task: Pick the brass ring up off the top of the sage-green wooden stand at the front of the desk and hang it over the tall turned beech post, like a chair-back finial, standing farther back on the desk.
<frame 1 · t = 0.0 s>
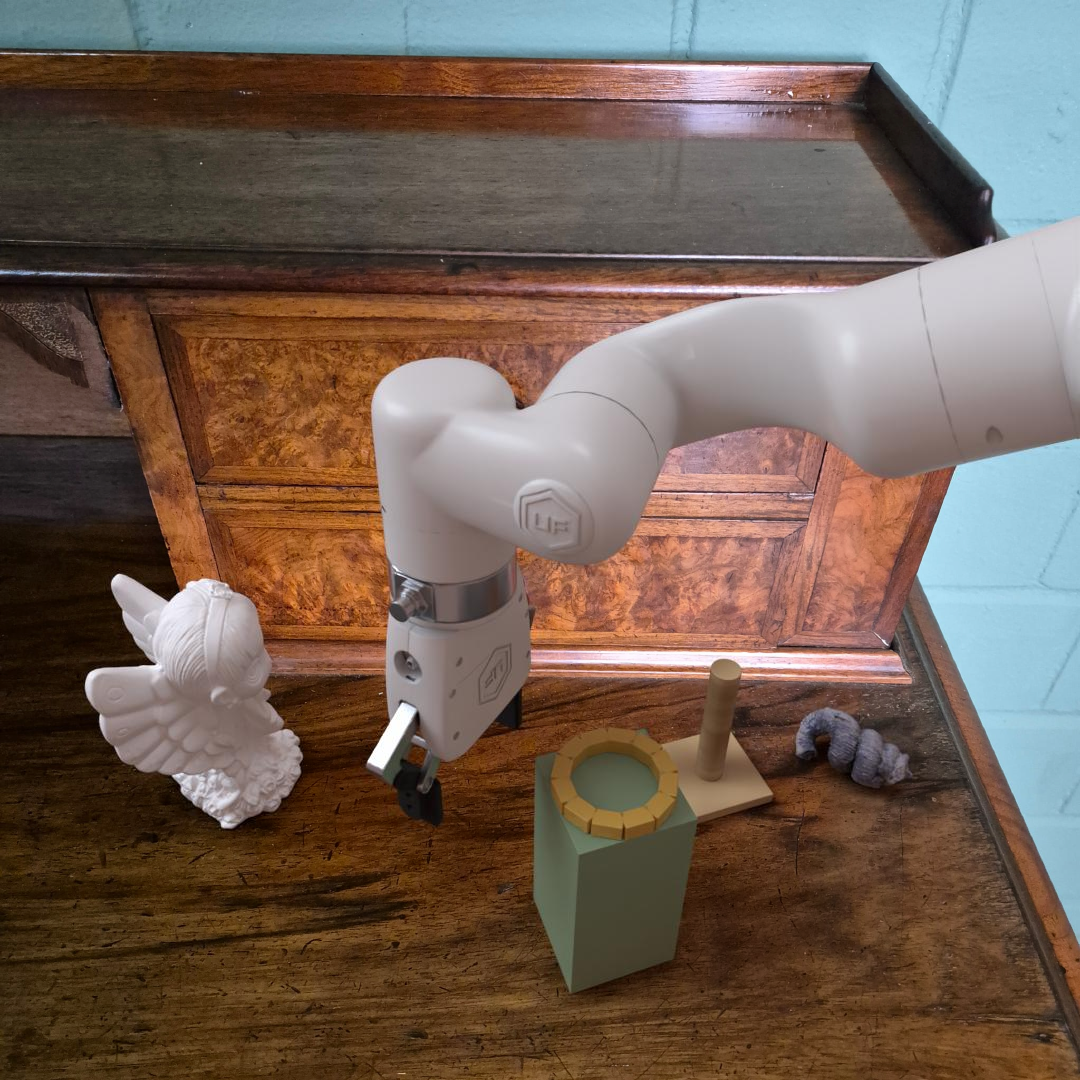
hand: (463, 764, 65), 14 cm above the table, tool pointing down, fingers open, 9 cm apart
ring: (613, 787, 61), point 16 cm above the table, touching stand
seashell: (848, 768, 83), on the table
post: (707, 778, 82), on the table
stand: (601, 927, 70), on the table
cherub figurine: (228, 782, 81), on the table
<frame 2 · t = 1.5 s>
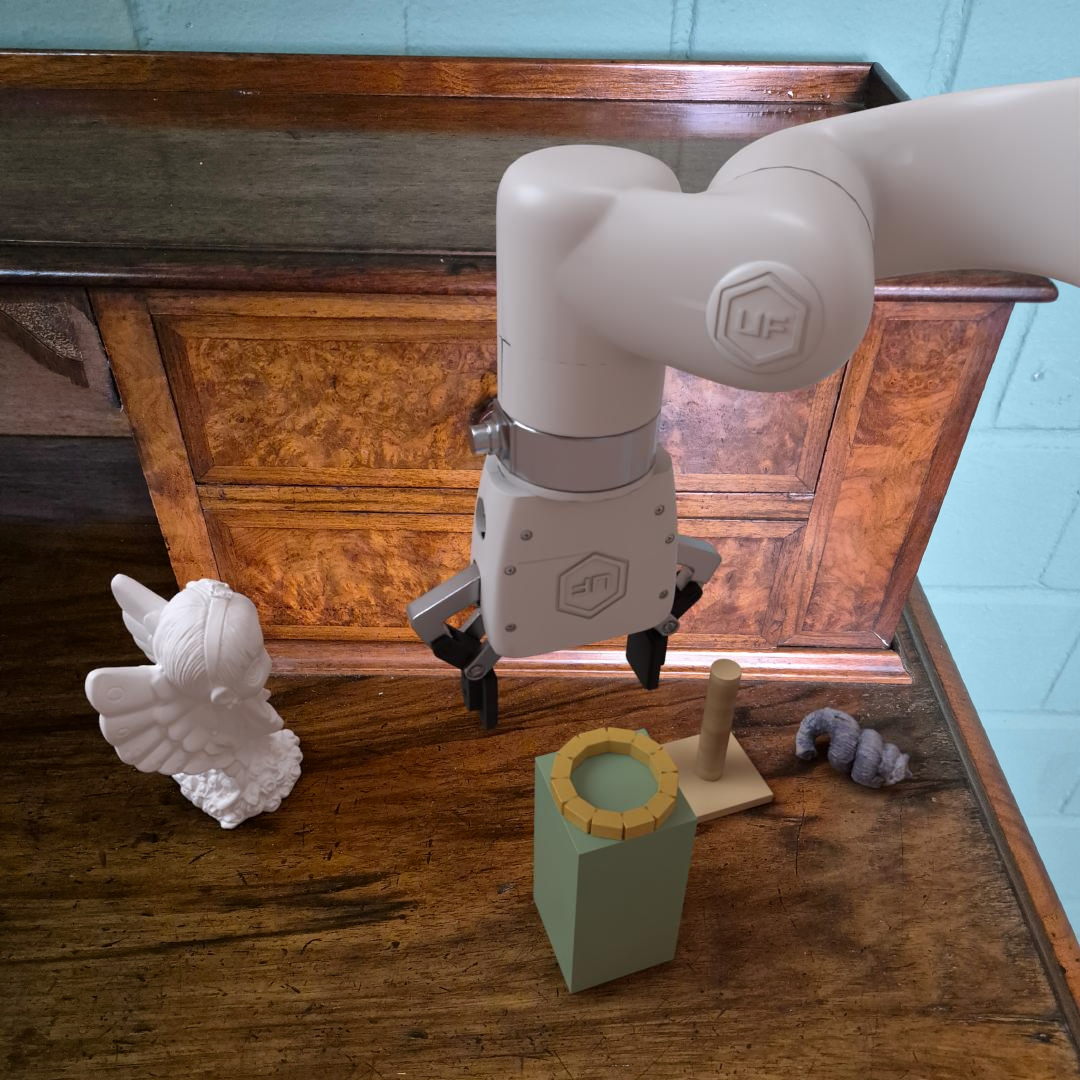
hand: (564, 692, 54), 26 cm above the table, tool pointing down, fingers open, 9 cm apart
nothing on the table moved.
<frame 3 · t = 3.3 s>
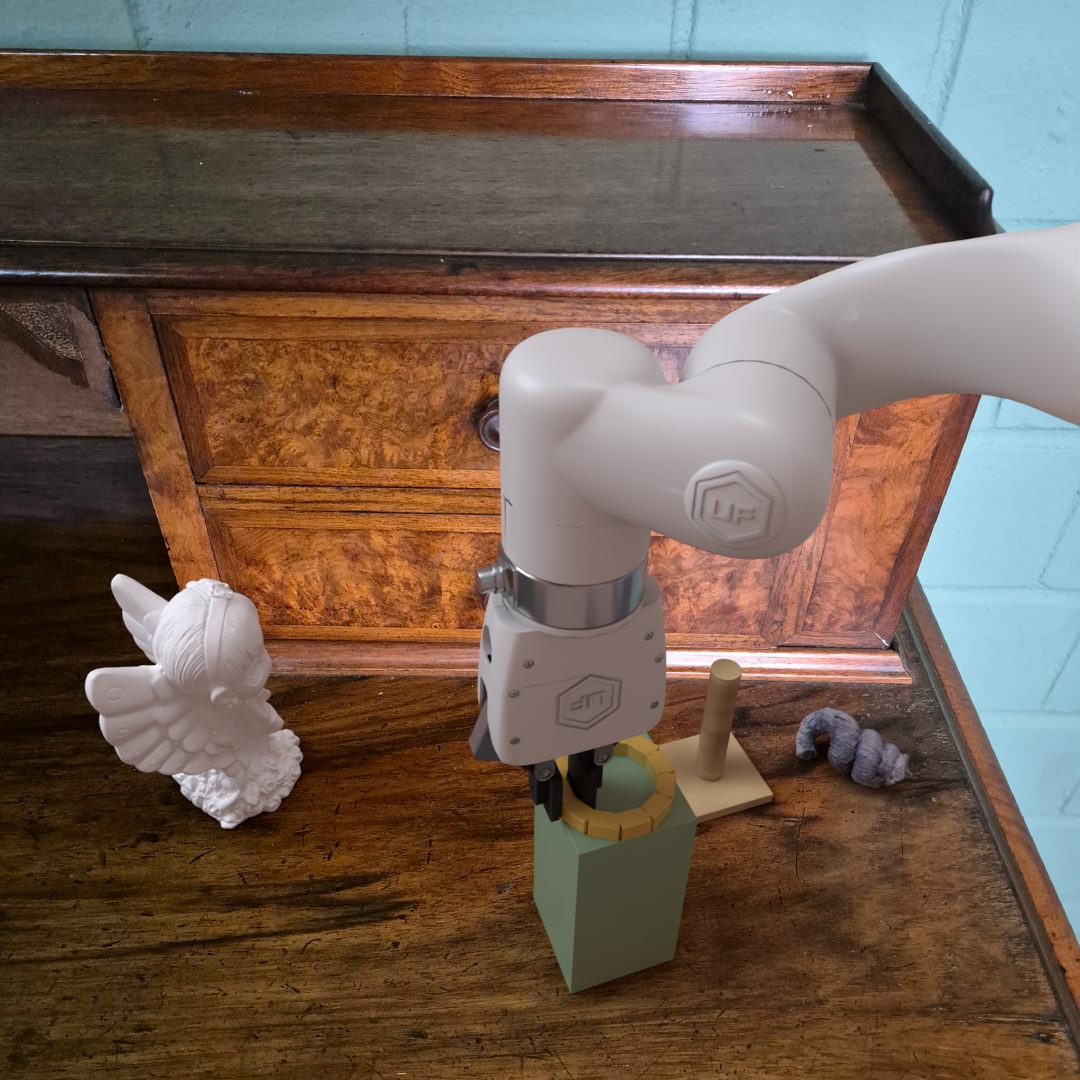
hand: (564, 797, 60), 16 cm above the table, tool pointing down, fingers closed on ring, 1 cm apart
ring: (610, 787, 61), point 16 cm above the table, touching gripper, stand
everything else where it was.
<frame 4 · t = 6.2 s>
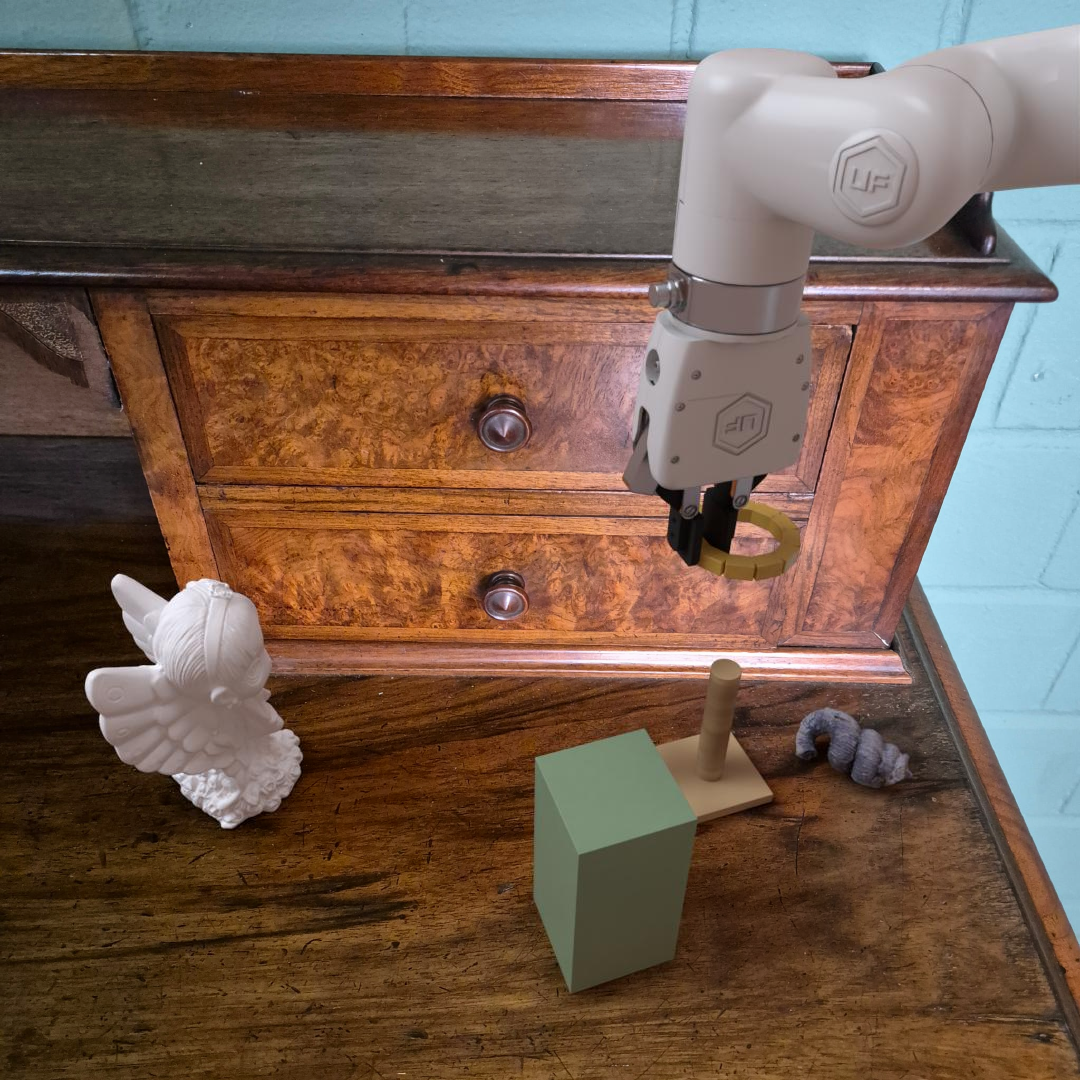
hand: (698, 549, 65), 26 cm above the table, tool pointing down, fingers closed on ring, 1 cm apart
ring: (738, 544, 66), point 26 cm above the table, touching gripper
everything else where it was.
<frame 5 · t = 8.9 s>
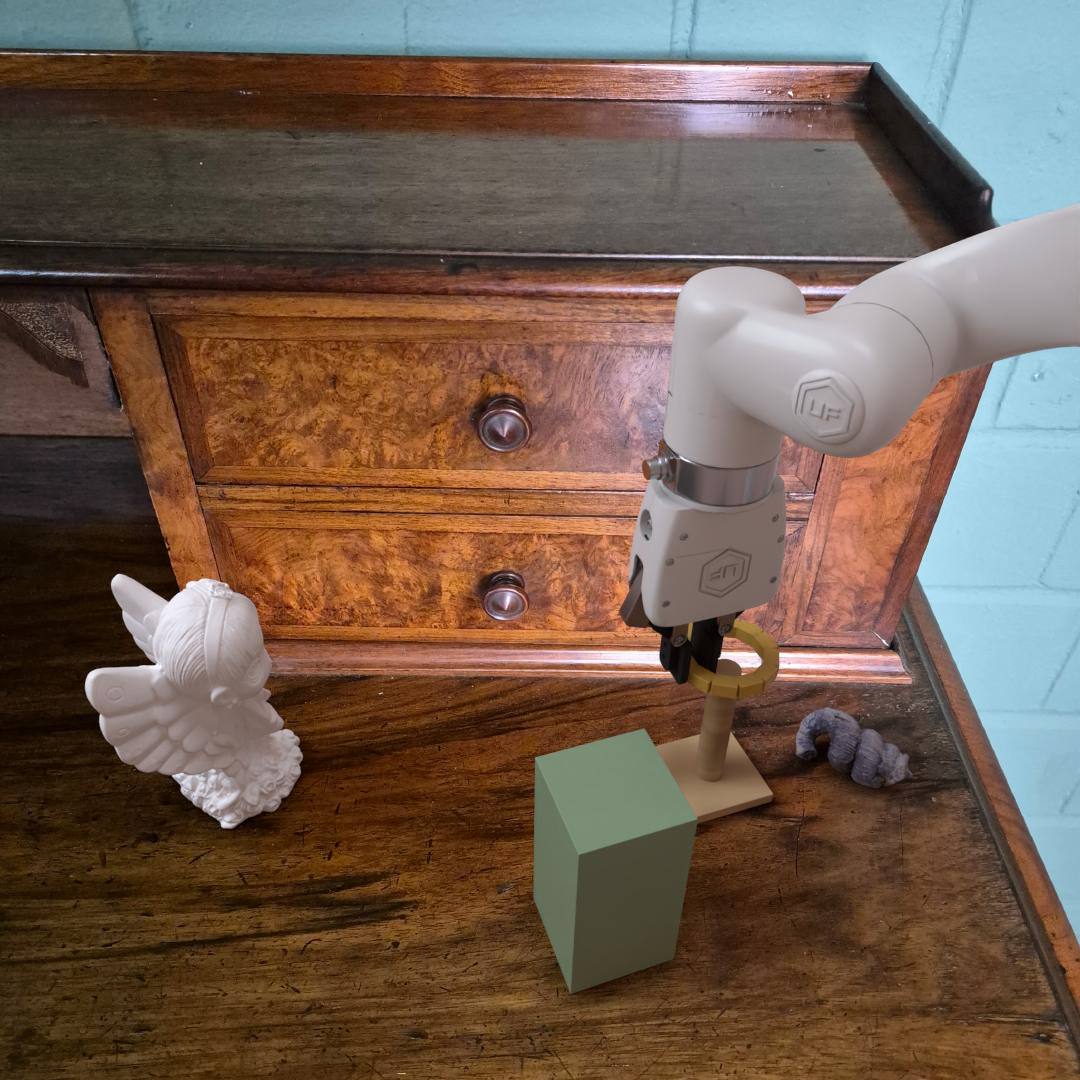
hand: (688, 667, 73), 14 cm above the table, tool pointing down, fingers closed on ring, 1 cm apart
ring: (724, 661, 74), point 14 cm above the table, touching gripper
everything else where it was.
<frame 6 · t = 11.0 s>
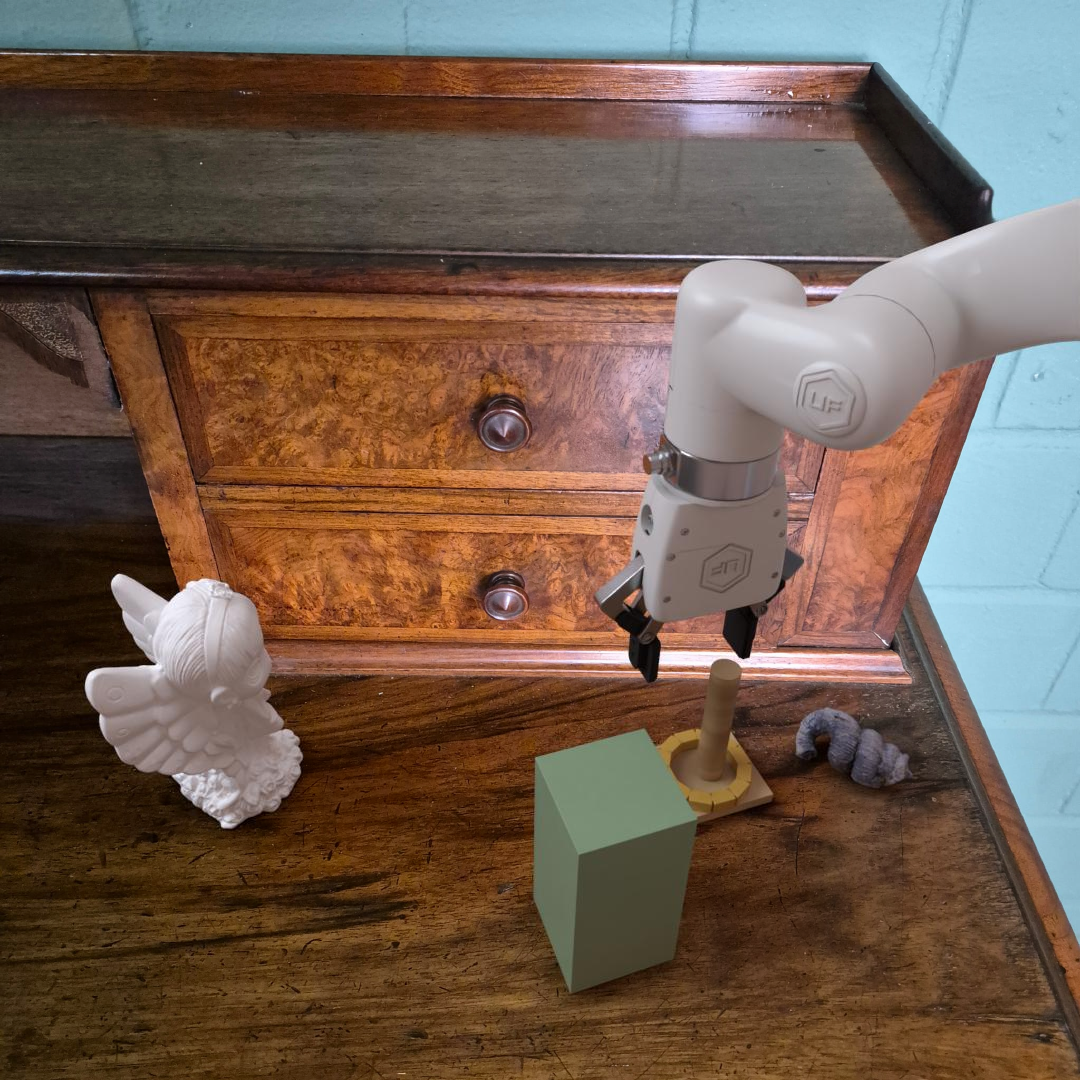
hand: (690, 657, 72), 15 cm above the table, tool pointing down, fingers open, 7 cm apart
ring: (702, 774, 81), point 1 cm above the table, touching post
everything else where it was.
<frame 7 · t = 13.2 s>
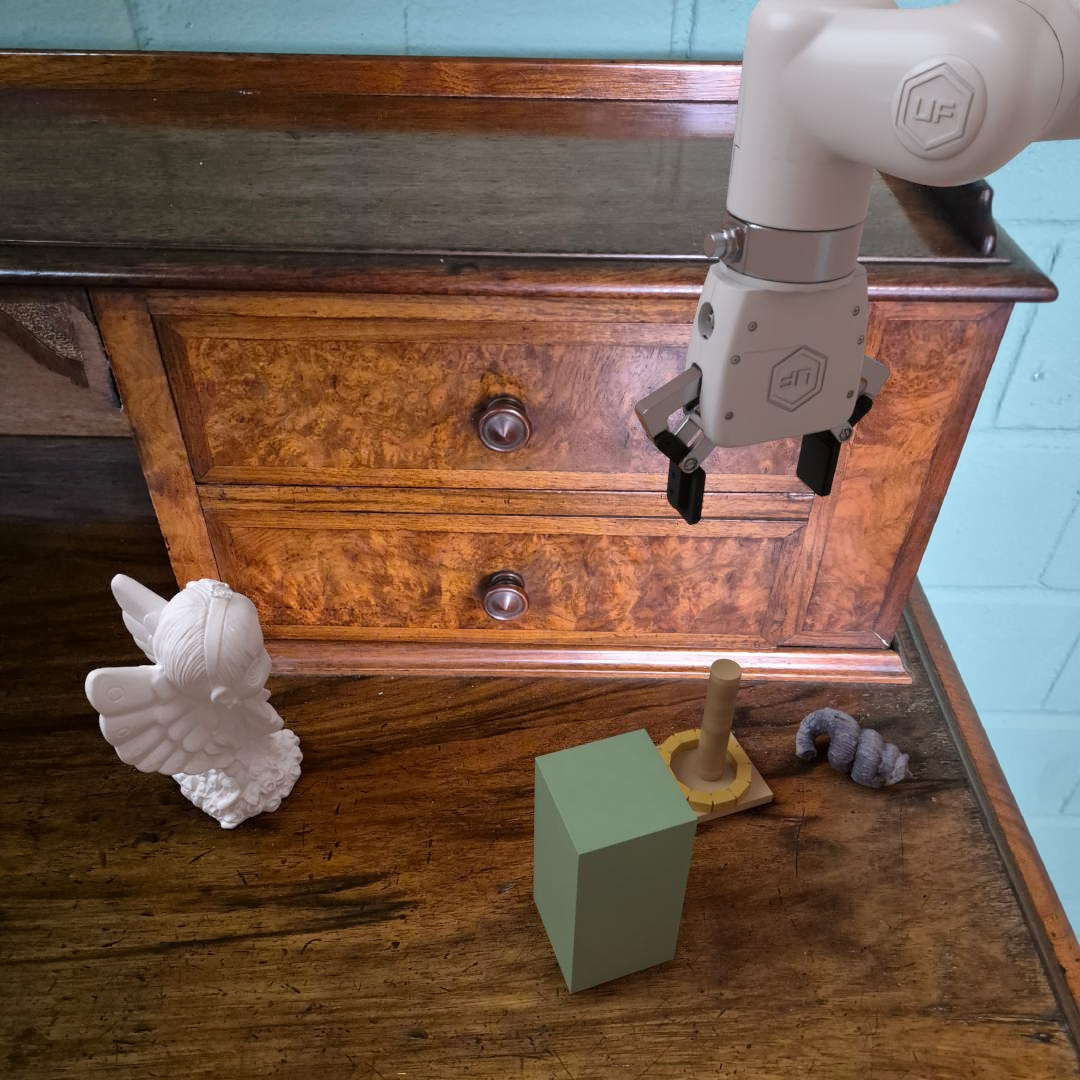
hand: (749, 499, 63), 30 cm above the table, tool pointing down, fingers open, 9 cm apart
nothing on the table moved.
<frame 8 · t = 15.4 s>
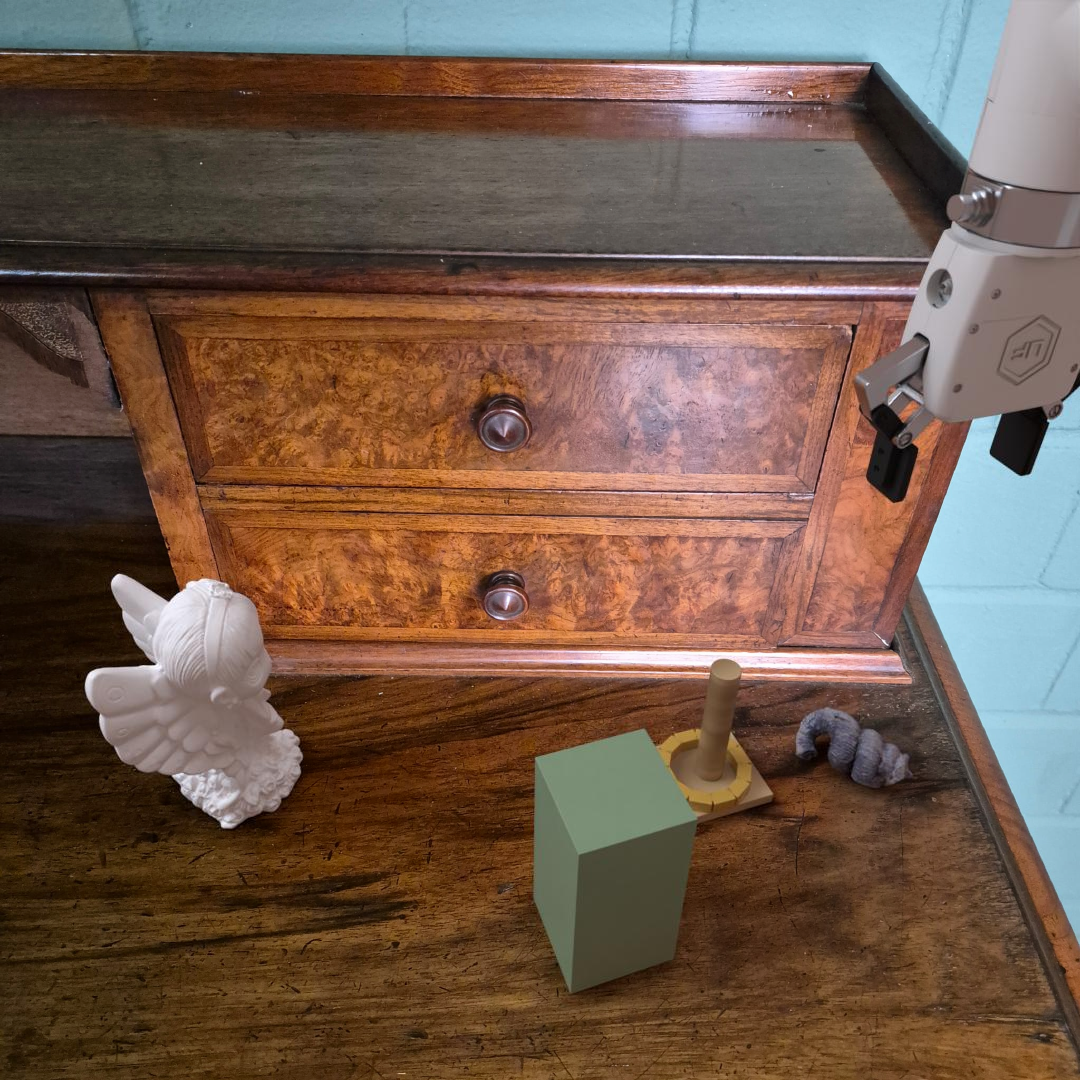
hand: (947, 477, 61), 32 cm above the table, tool pointing down, fingers open, 9 cm apart
nothing on the table moved.
at the end: ring 0.7 cm off-centre on the post, point 1.0 cm above the post's base; the gripper is holding nothing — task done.
